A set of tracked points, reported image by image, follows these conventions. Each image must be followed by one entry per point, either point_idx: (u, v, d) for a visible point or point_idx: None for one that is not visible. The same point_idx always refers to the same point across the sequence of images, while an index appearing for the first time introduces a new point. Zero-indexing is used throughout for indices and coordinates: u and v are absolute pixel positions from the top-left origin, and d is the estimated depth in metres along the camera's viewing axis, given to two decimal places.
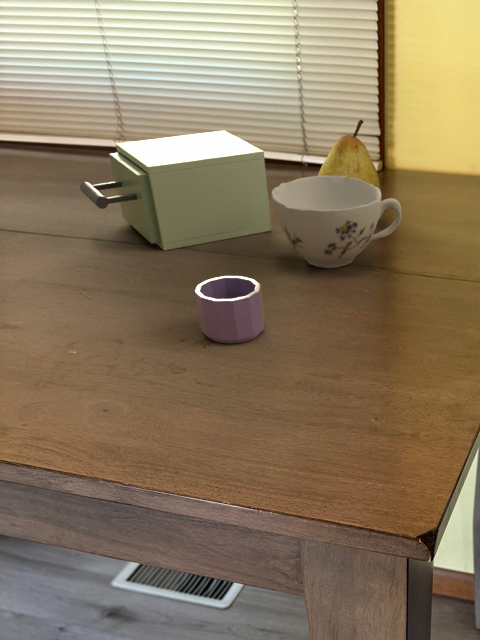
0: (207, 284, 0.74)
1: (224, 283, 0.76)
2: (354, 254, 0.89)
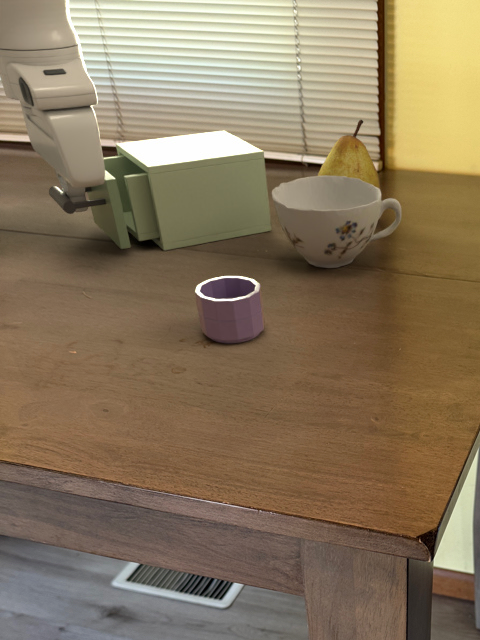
0: (207, 284, 0.74)
1: (224, 283, 0.76)
2: (354, 254, 0.89)
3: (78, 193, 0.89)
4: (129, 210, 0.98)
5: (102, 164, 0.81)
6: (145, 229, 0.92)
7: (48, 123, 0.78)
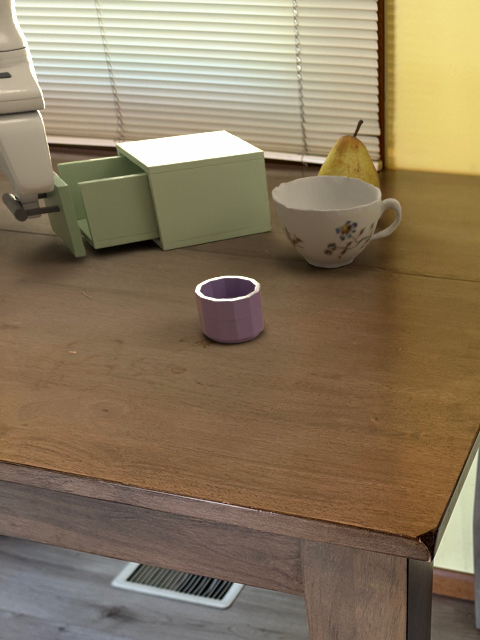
0: (207, 284, 0.74)
1: (224, 283, 0.76)
2: (354, 254, 0.89)
3: (30, 199, 0.86)
4: None
5: (50, 170, 0.79)
6: (101, 237, 0.90)
7: None
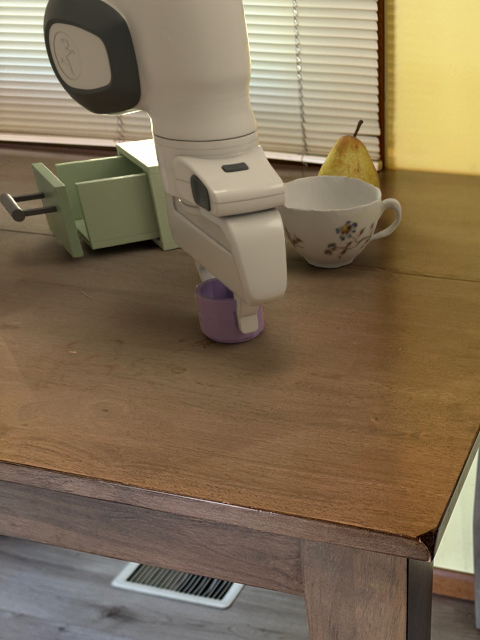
0: (207, 284, 0.74)
1: None
2: (354, 254, 0.89)
3: (250, 312, 0.71)
4: None
5: (285, 277, 0.65)
6: (98, 237, 0.90)
7: (228, 232, 0.61)
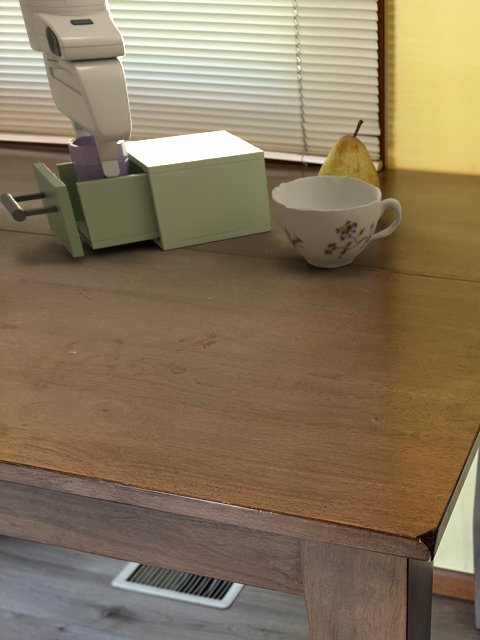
0: (80, 139, 0.89)
1: None
2: (354, 254, 0.89)
3: (110, 157, 0.86)
4: None
5: (129, 117, 0.80)
6: (99, 237, 0.90)
7: (75, 74, 0.76)
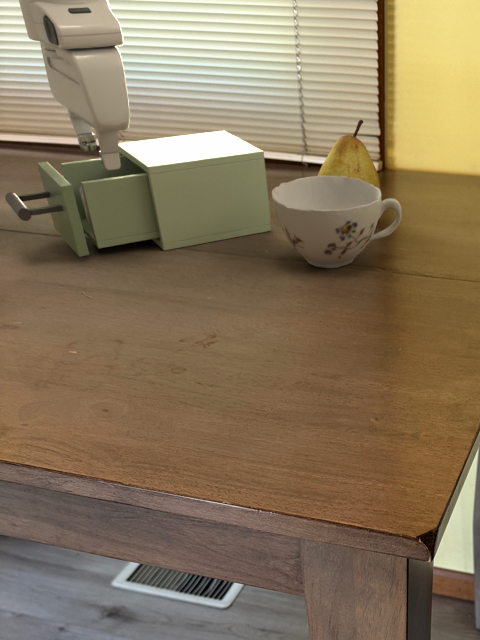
0: None
1: None
2: (354, 254, 0.89)
3: (111, 149, 0.85)
4: None
5: (127, 107, 0.80)
6: (104, 236, 0.90)
7: (73, 63, 0.76)
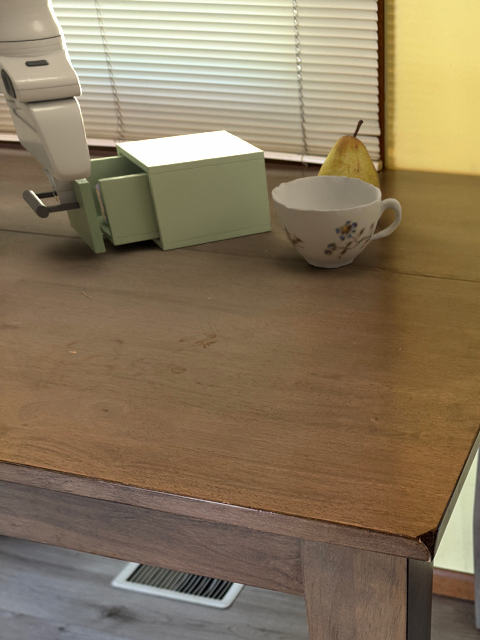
0: None
1: None
2: (354, 254, 0.89)
3: (66, 187, 0.88)
4: None
5: (87, 156, 0.80)
6: (120, 233, 0.91)
7: (31, 115, 0.76)
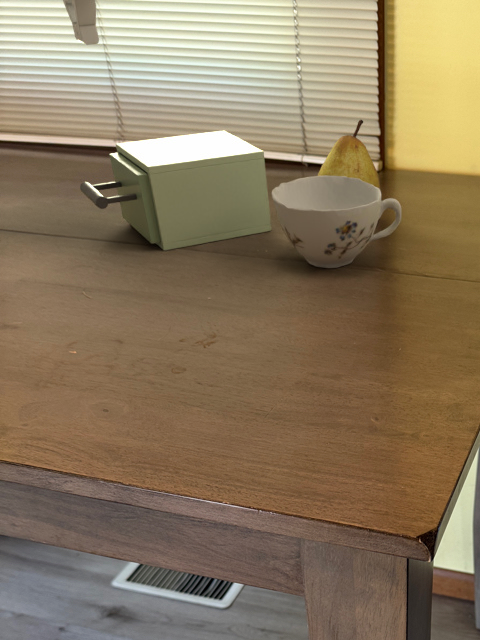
0: None
1: None
2: (354, 254, 0.89)
3: (88, 21, 0.80)
4: None
5: None
6: None
7: None
